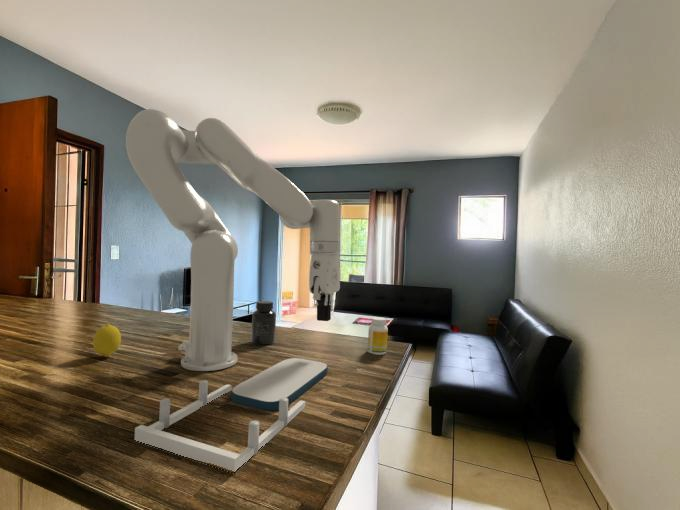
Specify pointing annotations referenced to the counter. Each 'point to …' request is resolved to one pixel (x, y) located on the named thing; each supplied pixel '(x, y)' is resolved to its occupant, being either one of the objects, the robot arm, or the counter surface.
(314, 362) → the white blue rounded slab
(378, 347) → the supplement bottle
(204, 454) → the dock
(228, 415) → the counter surface
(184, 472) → the counter surface
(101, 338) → the lemon
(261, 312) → the supplement bottle
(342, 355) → the counter surface
